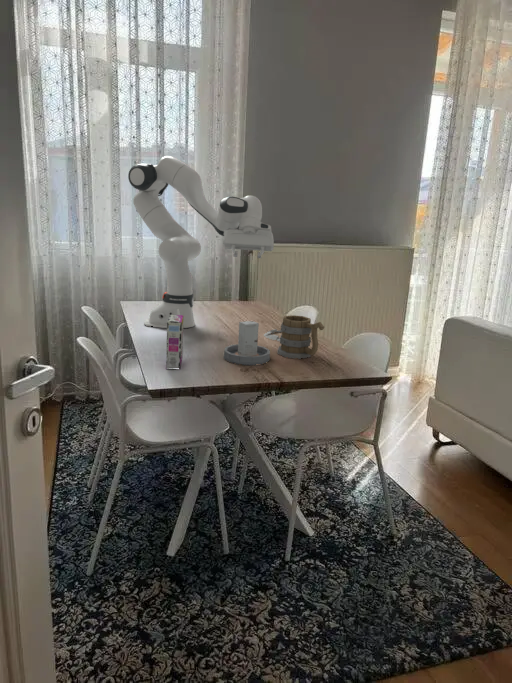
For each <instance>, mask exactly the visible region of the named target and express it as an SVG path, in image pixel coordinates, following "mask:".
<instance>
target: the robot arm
mask: <svg viewBox="0 0 512 683" xmlns="http://www.w3.org/2000/svg"><path fill="white" fill-rule="evenodd" d="M127 178H128V182H129V183H130V185H131V186H132V188H134V189H136V190H138V192H137V193H136V194H135V195H134V197H133V201H132V202H133V205H134V208H135V210H136V211H137V213H138V214H139V216H140V219H142V221H143V222H144V223H145V225H146V226H147V227H148V229H149V230H150V231H151V233H152V234H153V235H154V236H155V237H156V238H158V239H159V240H161V241H162V242H161V243H160V244H159V246H158V254H159V257H160V259H162V261H163V264H164V267H165V270H166V272H165V273H166V280H167V281H166V282H167V283H166V284H167V286H166V288H167V289H166V291H165V292H164V293H163V294H162V297H161V298H162V301H161V302H159V304H157V305H156V306H154V307H153V308H152V309H151V310H150V313H149V318H146V319H145V320H144V321H143V325H144V324H145V325H146V326H145V325H144V326H145V327H151V326H153V328H161V329H167V321H168V319H169V316H170V315H183V316H184V318H183V329H187V328H192V327H195V326H196V323H195V322H196V321H195V317H194V310H193V307H194V301H195V300H194V298H195V297H194V293H193V288H194V286H193V284H194V283H193V282H194V281H193V280H194V279H193V274H192V273H191V271H190V268H189V262H190V261H193V260H195V259H196V258H197V257H198V256H199V255H200V253H201V251H202V246H201V242H200V241H199V240H198V239H197V238H195V237H194V236H192V235H191V234H190V233H189V231H186V229H185V228H184V227H183V226H182V225H180V224H179V223H178V221H176V219H174V217H173V216H172V215H171V213H170V212H169V211H168V209H167V208H166V207H165V205H164V204H163V202H161V200H160V196H162V195H163V193H164V192H165V190H166V189H167V188H168V187H169V186H170V187H172V188H173V189H174V190H175V191H178V193H179V194H180V195H182V196H183V198H184V199H185V200H186V201H187V203H188V204H189V206H191V208H192V209H193V210H194V211H195V212H196V213H198V214H199V215H200V216H201V217H202V218H203V219H204V220H206V221H207V222H208V223H209V224H210V225H211V226H212V227H213V228H214V230H215V231H216V233H217V234H218V235H219V236H222V237H223V239H222V246H223V248H224V249H229V250H231V252H232V254H233V255H232V256H233V257H234V258H238V251H237V250H242V251H243V250H244V251H247V250H248V251H258V252H257V259H262V256H263V254H264V253H265V252H272V251H273V250H274V244H275V241H274V234H273V232H272V226H271V225H270V224H266V223H264V222H262V219H263V205H262V202H261V201H260V199H259V198H258V197H257V196H255V195H246V196H244V197H237V196H227V197H224V198H222V199H221V200H220V202H219V207H218V210H217V209H216V208H215V207H214V206H213V205H211V204H210V202H208V200H207V198H206V197H205V193H204V189H203V182H202V179H201V176H200V174H199V173H198V171H197V170H195V168H193V167H191V166H190V165H188V164H186V163H185V162H184V161H182V160H180V159H178V158H176V157H175V156H172V155H165V156H162V157H161V158H160V160H159V161H158V163H157V164H155V165H154V164H152V163H139V164H135V165H133V166H132V167H131V168H130V169H129V172H128V177H127Z"/></svg>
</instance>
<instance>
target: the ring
mask: <svg viewBox="0 0 512 683" xmlns="http://www.w3.org/2000/svg"><path fill="white" fill-rule="evenodd" d="M266 332H267V333H266ZM266 332H265V334H263V337H265V338H266V339H268V338H269V339H268V340H271V339H272V340H271V341H274V340H277V341H276V342H280V335H276V334H275V333H274V332H278V333H282V331H281V329H280V330H277V328H274V329H271V330H268V331H266ZM271 333H272V334H271Z"/></svg>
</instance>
